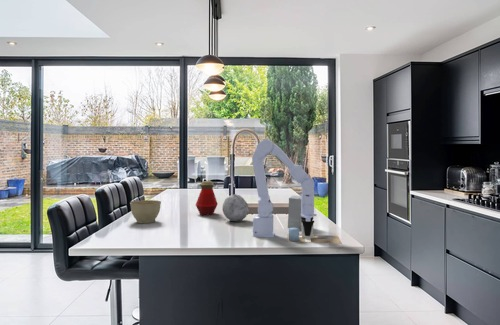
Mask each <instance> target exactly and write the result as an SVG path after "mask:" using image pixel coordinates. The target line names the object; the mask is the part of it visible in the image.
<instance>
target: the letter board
mask: <svg viewBox="0 0 500 325" xmlns="http://www.w3.org/2000/svg"><path fill="white" fill-rule="evenodd" d="M299 236H302V233H299ZM313 236H317V237H318V238H310V239H311V242H308V243H310V244H311V243H314V244H317V243H318V244H342V241H341V239H340V236H339V235H329V234H324V235H323V234H313ZM286 242H287V243H288V242H289V243H306V242H305V238H302V237H299V241H295V242H294V241H289V233H287V235H286Z"/></svg>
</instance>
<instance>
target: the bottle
mask: <svg viewBox="0 0 500 325" xmlns="http://www.w3.org/2000/svg"><path fill="white" fill-rule="evenodd" d="M214 185H215V184H214V182H213V181H211V180H203V181H202V182H201V183H200V188H201V190H200V193H199V195H198V197H197V200H196V203H195V207H196V209H197V210H198V211H197V212H198V213H199V215H201V216H212V215H214V213H215V211H216V209H217V206H218V202H217V201H218V200H217V197H216V195H215V191H214V189H213V188H214Z"/></svg>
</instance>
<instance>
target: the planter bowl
mask: <svg viewBox="0 0 500 325" xmlns="http://www.w3.org/2000/svg"><path fill="white" fill-rule="evenodd" d="M129 205H130V211H131V214H132V216H133V218H134V220H136V223H138V224H151V223H154V222H156V220H157V217H158V216H159V213H160V212H161V205H162V201H161V200H154V199H149V200H148V199H147V200H146V199H145V200H144V199H143V200H136V201H135V200H134V201H131V202H129Z"/></svg>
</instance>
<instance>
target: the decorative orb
mask: <svg viewBox="0 0 500 325" xmlns="http://www.w3.org/2000/svg"><path fill="white" fill-rule="evenodd" d="M221 210H222V213H223V214H224V216H225V217H226V219H227V220H229V221H231V222H241V221H242V220H244V219H245V218H247V216H248V215H249V212H250V207H249V204H248V203H247V201H246V200H245V199H244V197H243V196H242V195H240V194H237V193H235V194H234V193H232V195H229V196H227V197H226V198H225V199H224V200H223V203H222V209H221Z"/></svg>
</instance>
